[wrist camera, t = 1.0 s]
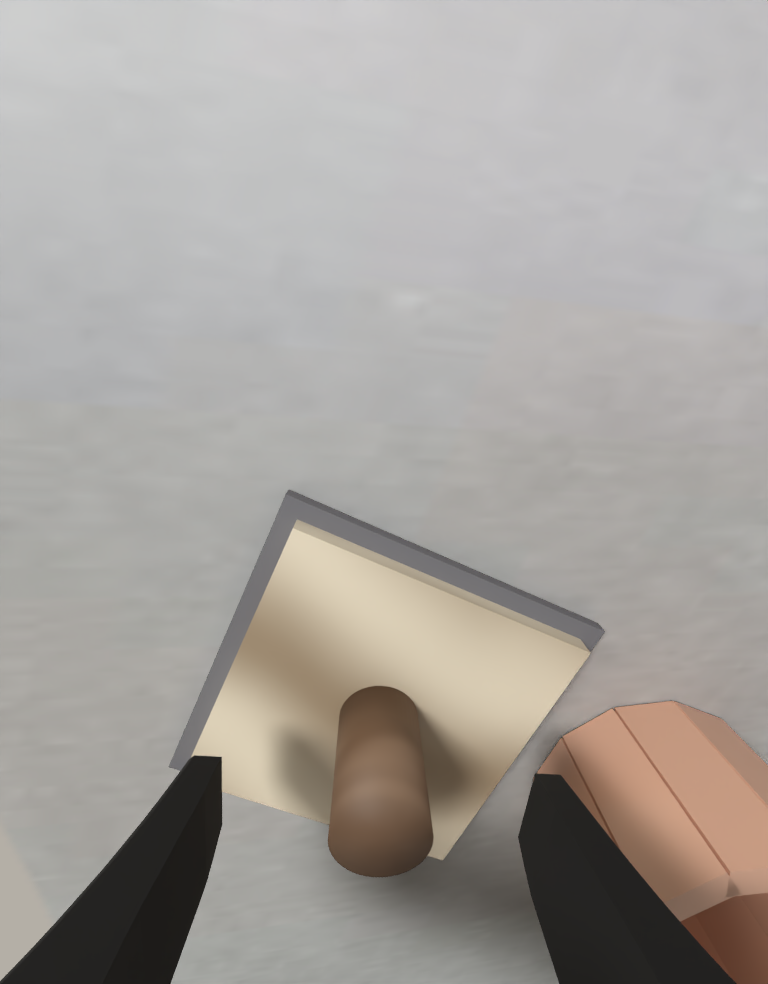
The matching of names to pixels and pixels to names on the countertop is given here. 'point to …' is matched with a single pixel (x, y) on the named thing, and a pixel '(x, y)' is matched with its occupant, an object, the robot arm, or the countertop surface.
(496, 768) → the cover
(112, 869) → the robot arm
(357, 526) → the mat
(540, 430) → the countertop surface
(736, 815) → the bowl
